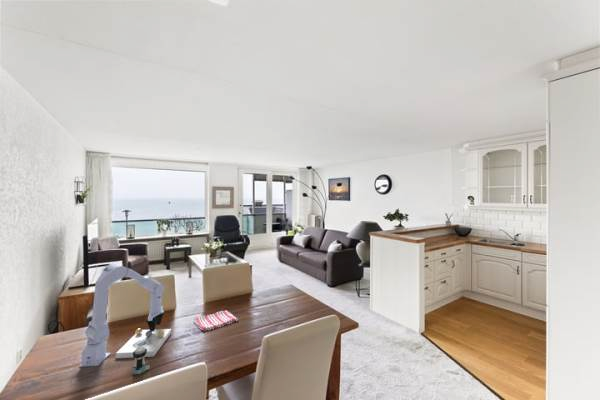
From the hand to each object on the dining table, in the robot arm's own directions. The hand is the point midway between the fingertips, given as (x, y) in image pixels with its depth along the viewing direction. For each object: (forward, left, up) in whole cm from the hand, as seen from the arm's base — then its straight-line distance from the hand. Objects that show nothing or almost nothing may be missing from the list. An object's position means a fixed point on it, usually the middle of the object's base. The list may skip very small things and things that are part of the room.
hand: (155, 327), depth 143 cm
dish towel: (+13, -31, -4) cm, 34 cm away
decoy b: (-9, -7, +1) cm, 11 cm away
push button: (-33, -8, -4) cm, 34 cm away
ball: (-8, 0, +1) cm, 8 cm away
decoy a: (-5, +6, +1) cm, 8 cm away
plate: (-11, 0, -3) cm, 11 cm away
